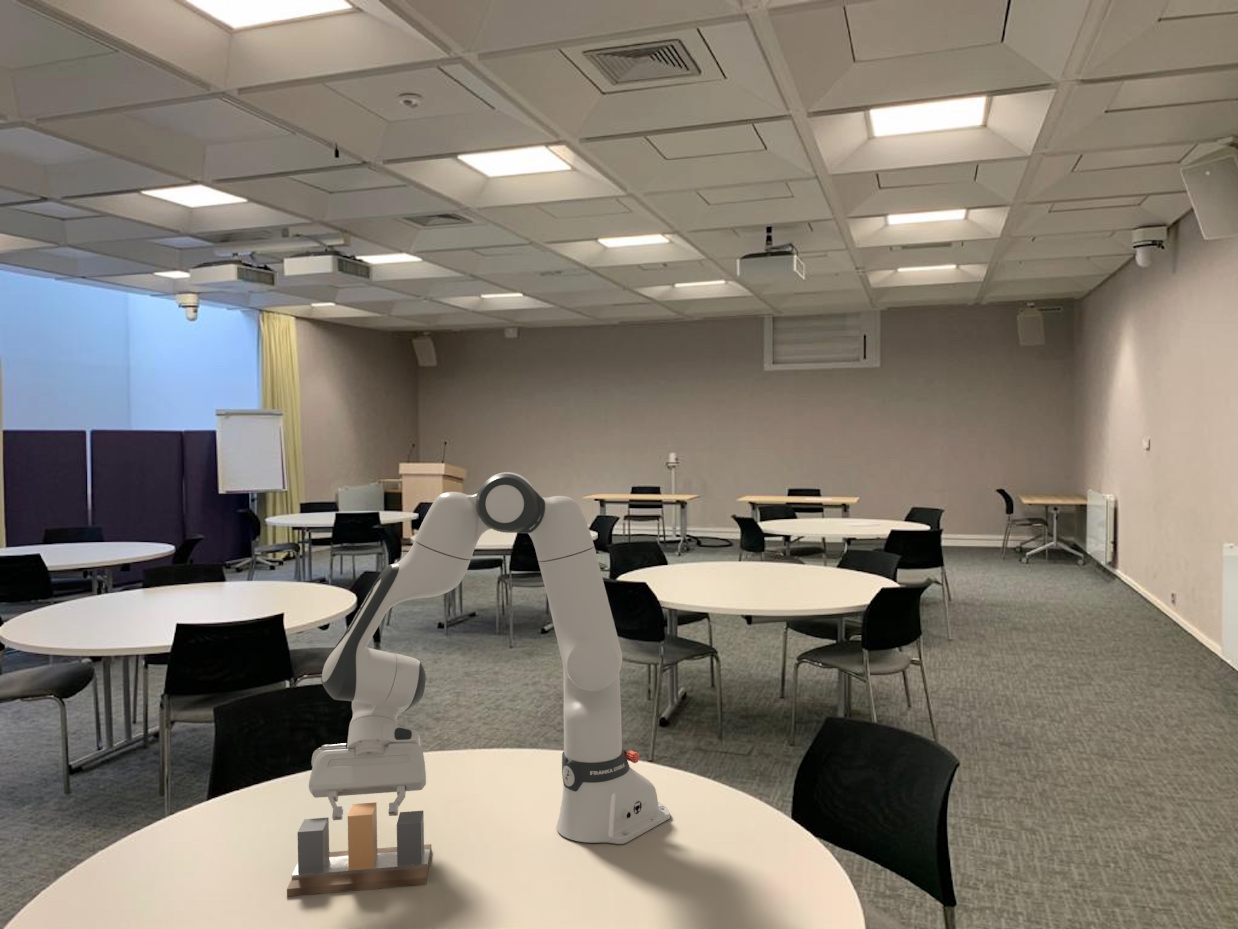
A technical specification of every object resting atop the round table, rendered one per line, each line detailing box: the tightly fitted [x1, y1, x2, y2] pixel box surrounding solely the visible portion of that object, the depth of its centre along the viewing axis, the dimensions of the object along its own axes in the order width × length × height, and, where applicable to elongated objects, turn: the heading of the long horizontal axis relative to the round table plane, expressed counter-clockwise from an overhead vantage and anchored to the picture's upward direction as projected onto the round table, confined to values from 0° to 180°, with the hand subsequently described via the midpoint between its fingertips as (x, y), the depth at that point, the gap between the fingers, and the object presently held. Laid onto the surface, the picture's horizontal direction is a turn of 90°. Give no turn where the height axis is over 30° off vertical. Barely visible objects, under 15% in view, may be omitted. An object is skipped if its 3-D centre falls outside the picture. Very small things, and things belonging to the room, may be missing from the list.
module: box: [347, 802, 378, 870], centre depth 143 cm, size 4×5×9 cm
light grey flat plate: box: [291, 849, 430, 879], centre depth 143 cm, size 22×6×1 cm, turn 98°
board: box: [286, 843, 433, 897], centre depth 143 cm, size 22×12×1 cm, turn 98°
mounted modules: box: [297, 810, 425, 874], centre depth 143 cm, size 20×5×7 cm, turn 98°
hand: (365, 816), depth 146 cm, fingers open, 8 cm apart
